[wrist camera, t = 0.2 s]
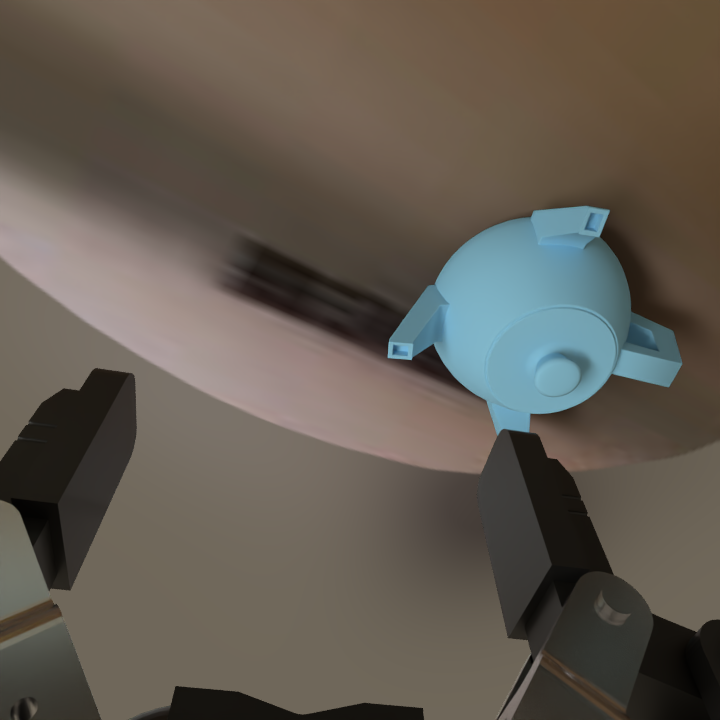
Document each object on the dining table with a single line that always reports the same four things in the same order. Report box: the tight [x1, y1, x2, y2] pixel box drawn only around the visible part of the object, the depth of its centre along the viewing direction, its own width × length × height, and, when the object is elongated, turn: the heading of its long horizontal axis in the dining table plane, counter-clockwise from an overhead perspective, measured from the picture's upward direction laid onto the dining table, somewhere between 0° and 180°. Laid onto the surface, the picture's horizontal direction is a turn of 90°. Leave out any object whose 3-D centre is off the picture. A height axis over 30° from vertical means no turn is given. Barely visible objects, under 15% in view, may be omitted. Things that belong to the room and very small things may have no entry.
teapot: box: [388, 206, 682, 436], centre depth 40 cm, size 15×15×11 cm
